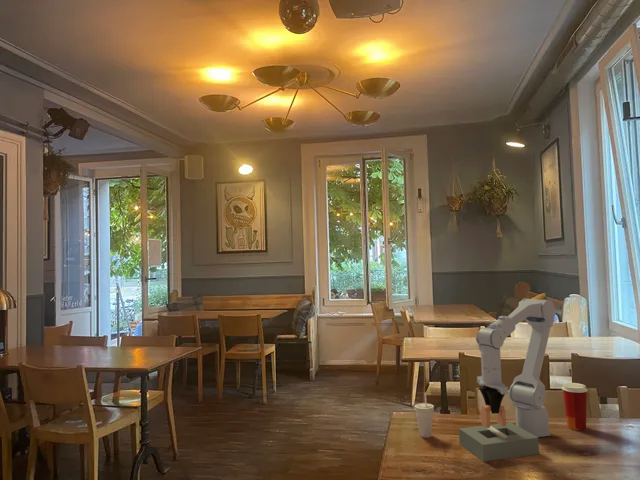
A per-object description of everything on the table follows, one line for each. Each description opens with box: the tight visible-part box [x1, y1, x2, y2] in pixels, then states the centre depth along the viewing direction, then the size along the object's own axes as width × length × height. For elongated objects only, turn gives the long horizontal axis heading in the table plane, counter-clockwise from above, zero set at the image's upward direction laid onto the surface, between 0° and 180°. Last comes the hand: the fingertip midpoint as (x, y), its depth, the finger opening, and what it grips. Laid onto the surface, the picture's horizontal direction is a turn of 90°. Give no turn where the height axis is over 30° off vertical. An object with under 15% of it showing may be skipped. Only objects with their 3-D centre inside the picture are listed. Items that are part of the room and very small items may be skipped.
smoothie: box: [414, 392, 435, 439], centre depth 166 cm, size 6×6×14 cm
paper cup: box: [561, 382, 588, 432], centre depth 168 cm, size 8×8×14 cm
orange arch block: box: [480, 403, 507, 428], centre depth 155 cm, size 6×3×6 cm, turn 102°
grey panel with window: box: [458, 421, 540, 463], centre depth 153 cm, size 18×14×6 cm
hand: (493, 411), depth 155 cm, fingers closed on orange arch block, 2 cm apart
